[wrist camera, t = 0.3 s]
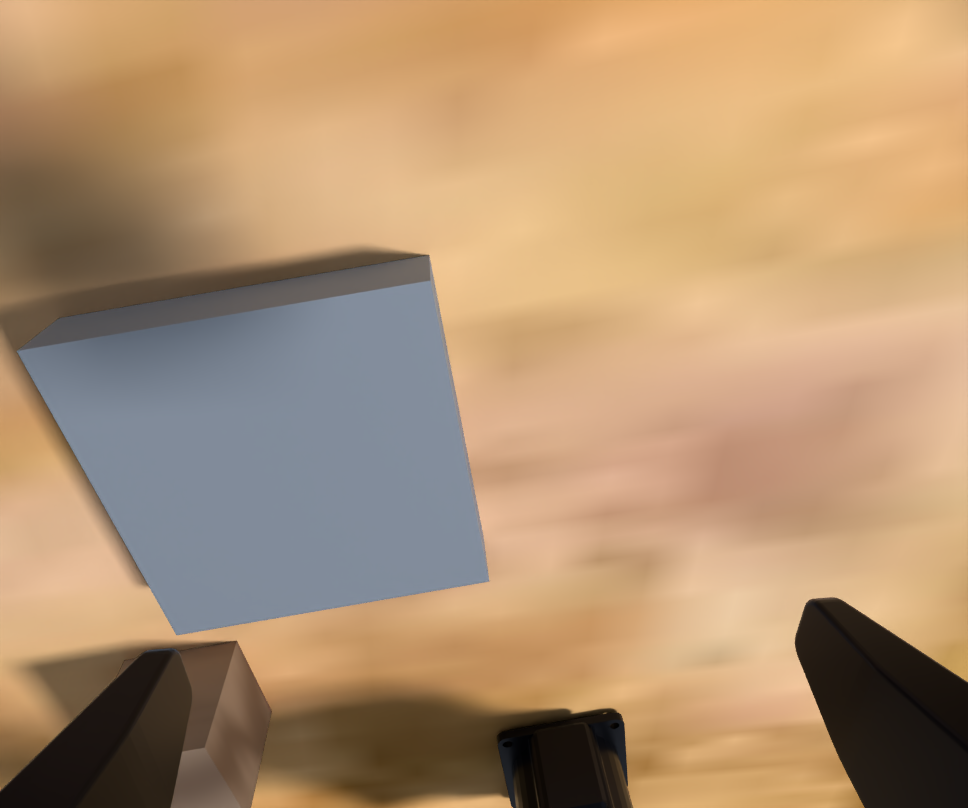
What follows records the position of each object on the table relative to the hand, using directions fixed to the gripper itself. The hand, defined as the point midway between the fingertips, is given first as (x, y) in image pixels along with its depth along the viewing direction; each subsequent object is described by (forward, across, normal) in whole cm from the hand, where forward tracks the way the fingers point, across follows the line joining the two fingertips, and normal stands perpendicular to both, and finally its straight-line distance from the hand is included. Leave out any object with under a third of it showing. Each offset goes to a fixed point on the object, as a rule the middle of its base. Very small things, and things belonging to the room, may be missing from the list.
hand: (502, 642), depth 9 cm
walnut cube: (+14, +12, +18) cm, 26 cm away
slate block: (+15, +6, +5) cm, 17 cm away
